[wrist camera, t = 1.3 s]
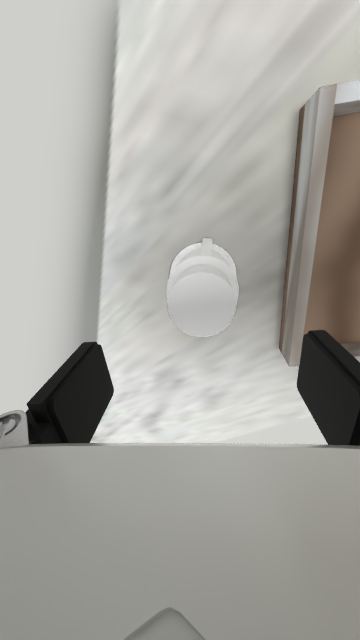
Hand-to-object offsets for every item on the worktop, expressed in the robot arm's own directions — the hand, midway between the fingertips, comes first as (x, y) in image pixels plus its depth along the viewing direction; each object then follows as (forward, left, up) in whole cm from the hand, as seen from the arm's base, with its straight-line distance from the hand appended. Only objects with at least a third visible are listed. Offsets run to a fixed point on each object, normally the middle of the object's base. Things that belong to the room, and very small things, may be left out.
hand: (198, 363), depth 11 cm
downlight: (0, 0, -15) cm, 15 cm away
